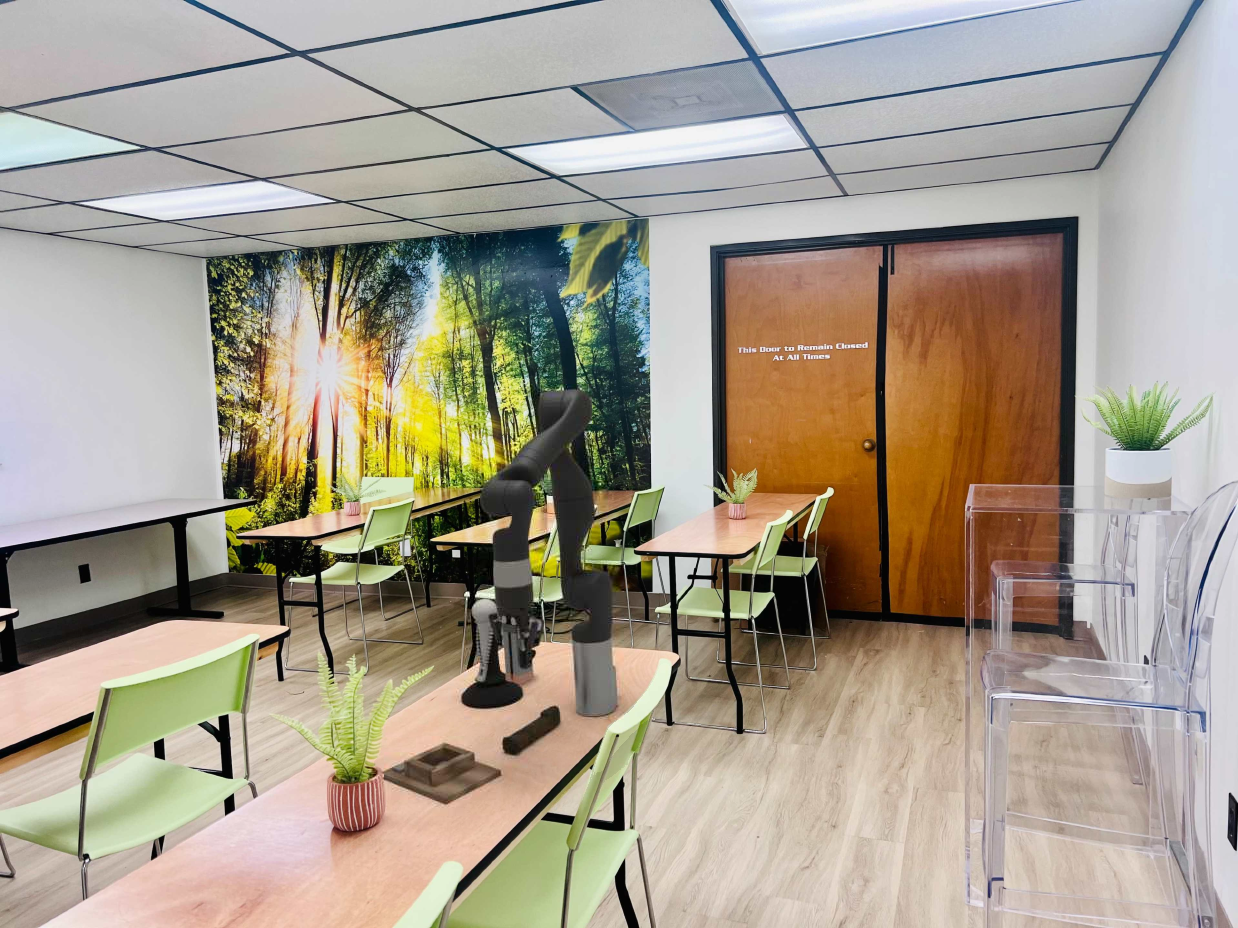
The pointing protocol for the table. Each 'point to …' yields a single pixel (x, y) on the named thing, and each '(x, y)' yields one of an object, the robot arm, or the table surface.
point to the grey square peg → (514, 656)
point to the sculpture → (489, 666)
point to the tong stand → (442, 773)
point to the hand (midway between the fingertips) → (519, 665)
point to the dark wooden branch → (532, 730)
